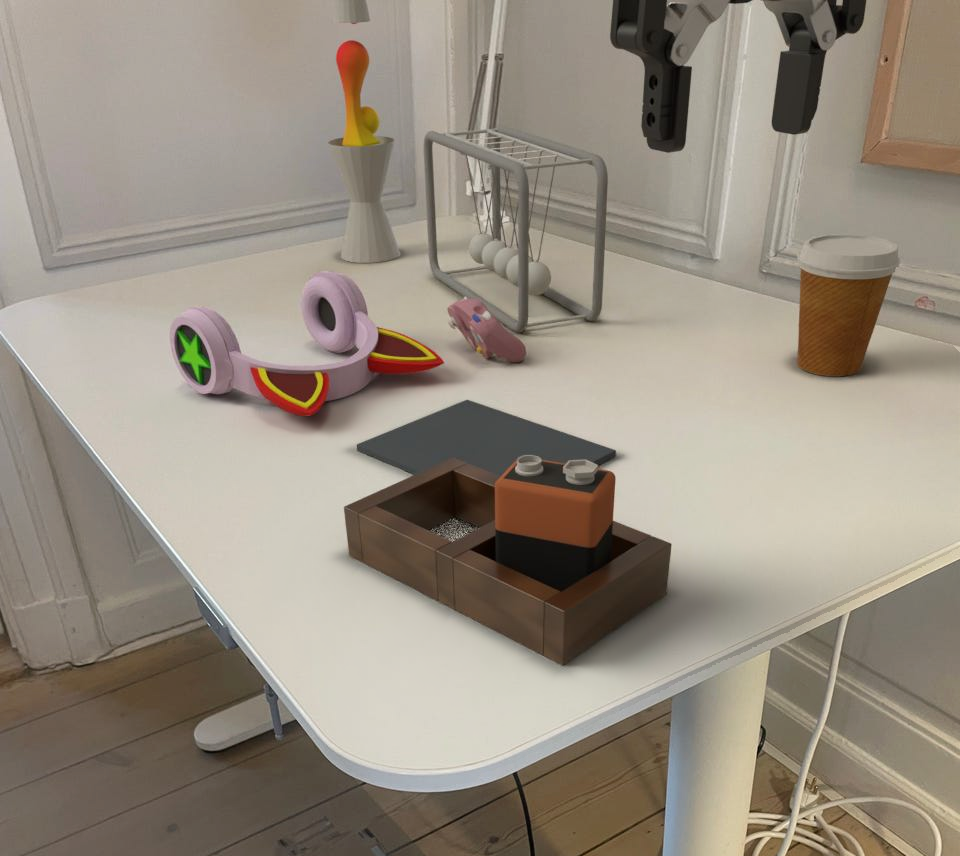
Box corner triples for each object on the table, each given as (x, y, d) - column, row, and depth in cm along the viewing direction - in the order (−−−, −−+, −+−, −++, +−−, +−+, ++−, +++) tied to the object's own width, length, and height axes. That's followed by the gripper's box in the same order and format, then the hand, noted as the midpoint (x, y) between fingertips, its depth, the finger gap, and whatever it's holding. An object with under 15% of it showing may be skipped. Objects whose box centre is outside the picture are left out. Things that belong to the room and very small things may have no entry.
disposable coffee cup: (776, 349, 107) (794, 232, 101) (868, 351, 106) (892, 233, 99) (786, 381, 100) (806, 256, 93) (885, 383, 99) (912, 257, 92)
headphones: (313, 266, 110) (441, 273, 97) (330, 356, 114) (454, 373, 102) (157, 308, 98) (280, 322, 85) (184, 406, 103) (303, 433, 90)
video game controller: (462, 354, 113) (433, 302, 108) (494, 330, 113) (467, 277, 109) (497, 382, 106) (468, 327, 101) (532, 357, 106) (505, 301, 101)
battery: (590, 625, 65) (597, 485, 59) (494, 604, 67) (491, 468, 61) (610, 592, 68) (618, 456, 62) (517, 573, 70) (518, 441, 65)
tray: (667, 594, 68) (672, 543, 65) (562, 666, 61) (564, 611, 59) (454, 503, 79) (452, 457, 77) (348, 555, 73) (343, 506, 71)
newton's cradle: (428, 274, 135) (421, 128, 125) (499, 264, 138) (497, 122, 128) (521, 338, 112) (520, 166, 102) (602, 325, 116) (610, 157, 105)
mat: (615, 456, 86) (616, 450, 86) (506, 513, 78) (506, 506, 78) (467, 405, 96) (467, 399, 96) (356, 450, 88) (356, 444, 88)
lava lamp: (375, 266, 139) (351, -36, 119) (326, 258, 144) (294, -35, 124) (414, 251, 146) (397, -38, 126) (365, 244, 150) (341, -37, 130)
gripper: (706, -310, 37) (669, 169, 46) (962, -286, 42) (882, 135, 52) (587, -277, 42) (575, 147, 51) (829, -260, 48) (778, 118, 57)
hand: (729, 140), depth 52 cm, fingers open, 8 cm apart
